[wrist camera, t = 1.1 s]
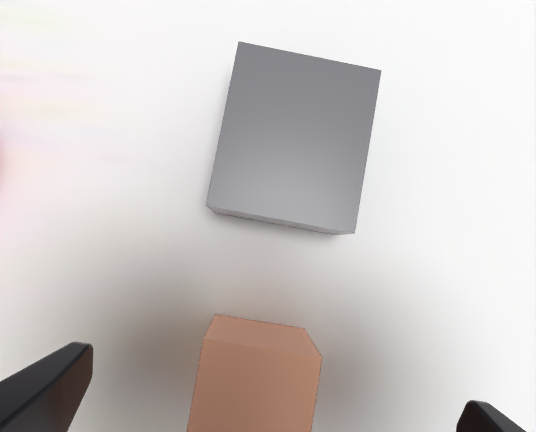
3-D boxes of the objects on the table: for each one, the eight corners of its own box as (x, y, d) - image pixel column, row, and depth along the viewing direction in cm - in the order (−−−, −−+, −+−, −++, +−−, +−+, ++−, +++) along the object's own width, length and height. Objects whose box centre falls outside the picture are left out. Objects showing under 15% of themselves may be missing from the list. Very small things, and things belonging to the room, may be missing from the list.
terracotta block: (289, 420, 19) (303, 482, 14) (199, 406, 19) (180, 465, 14) (304, 328, 20) (322, 357, 15) (215, 313, 19) (203, 338, 14)
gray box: (334, 235, 20) (354, 233, 16) (214, 212, 20) (205, 205, 16) (356, 103, 21) (381, 70, 17) (241, 80, 21) (238, 41, 17)
